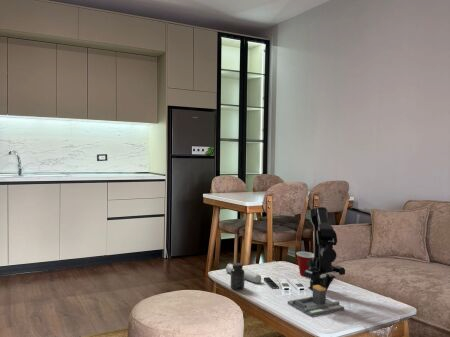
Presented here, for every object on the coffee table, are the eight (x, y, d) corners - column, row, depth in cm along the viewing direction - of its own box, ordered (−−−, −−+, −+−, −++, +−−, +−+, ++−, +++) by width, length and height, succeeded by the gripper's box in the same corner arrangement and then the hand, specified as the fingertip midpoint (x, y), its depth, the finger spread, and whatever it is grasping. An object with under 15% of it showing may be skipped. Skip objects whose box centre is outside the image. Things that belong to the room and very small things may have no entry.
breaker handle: (317, 300, 182) (318, 284, 182) (325, 304, 178) (325, 288, 178) (312, 301, 181) (312, 285, 181) (319, 305, 177) (320, 289, 176)
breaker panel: (319, 298, 190) (319, 291, 190) (344, 309, 176) (344, 302, 176) (287, 303, 182) (287, 297, 182) (310, 316, 168) (310, 309, 167)
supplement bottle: (229, 286, 205) (230, 262, 205) (243, 285, 206) (243, 262, 206) (231, 290, 199) (231, 266, 198) (245, 290, 199) (245, 265, 199)
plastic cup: (311, 279, 219) (312, 256, 218) (292, 276, 224) (293, 254, 224) (318, 274, 228) (319, 252, 228) (300, 271, 234) (300, 250, 233)
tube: (264, 275, 212) (234, 264, 232) (257, 273, 209) (227, 262, 229) (261, 285, 211) (231, 273, 231) (254, 284, 208) (224, 272, 228)
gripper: (329, 250, 192) (328, 283, 192) (296, 254, 183) (296, 289, 184) (346, 255, 182) (345, 290, 182) (313, 260, 173) (312, 296, 174)
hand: (324, 291), depth 181 cm, fingers closed
